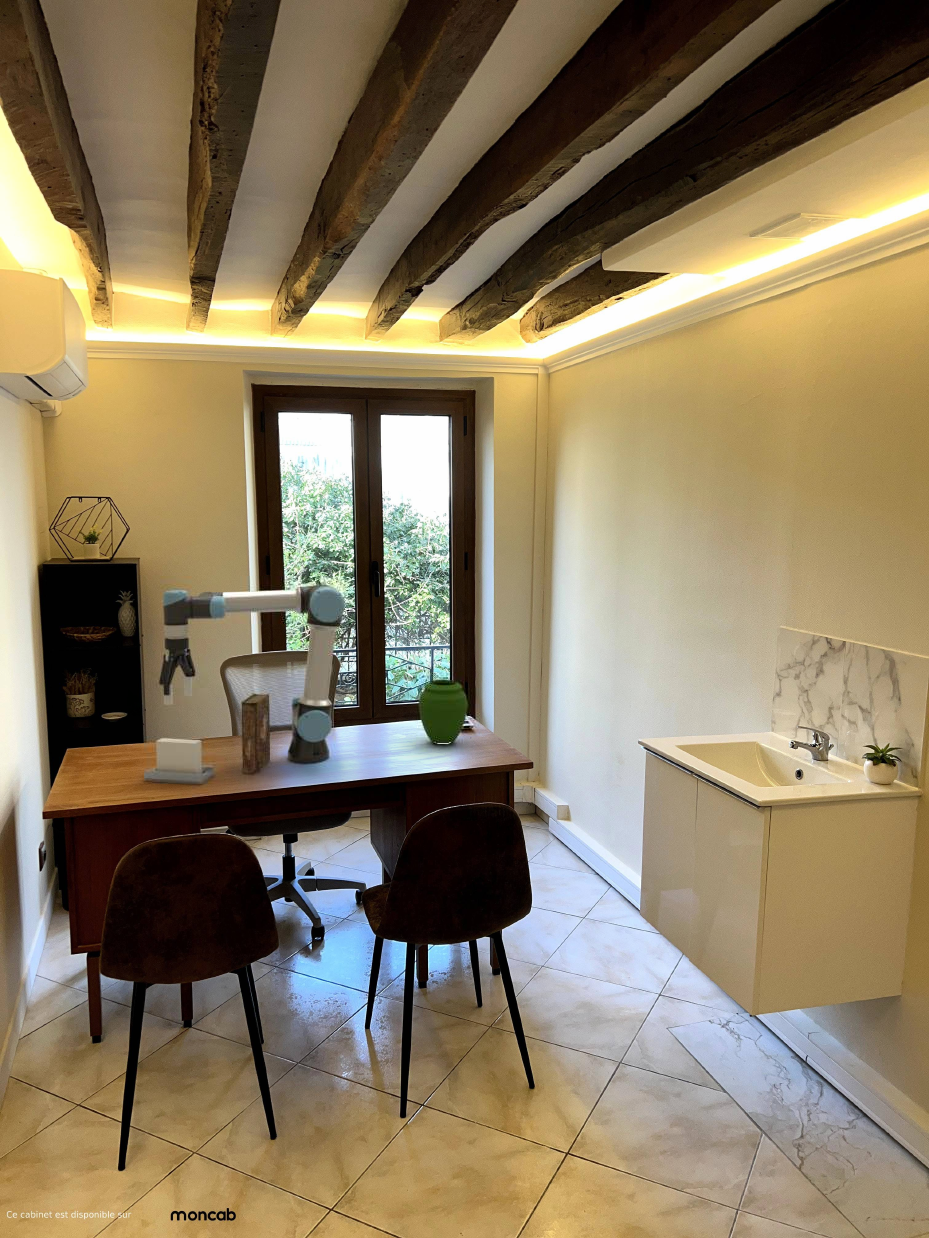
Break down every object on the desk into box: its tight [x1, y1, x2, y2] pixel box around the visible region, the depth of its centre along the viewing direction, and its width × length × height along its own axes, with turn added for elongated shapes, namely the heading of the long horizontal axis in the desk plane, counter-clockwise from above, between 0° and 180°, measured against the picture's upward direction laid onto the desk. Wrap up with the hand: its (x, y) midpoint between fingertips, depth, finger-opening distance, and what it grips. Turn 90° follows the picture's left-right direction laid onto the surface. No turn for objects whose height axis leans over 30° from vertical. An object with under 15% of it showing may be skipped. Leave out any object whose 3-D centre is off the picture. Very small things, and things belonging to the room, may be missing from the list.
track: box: [143, 764, 215, 786], centre depth 275 cm, size 20×10×4 cm, turn 81°
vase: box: [418, 679, 469, 743], centre depth 323 cm, size 20×20×24 cm
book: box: [241, 692, 271, 775], centre depth 287 cm, size 16×6×25 cm, turn 178°
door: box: [155, 737, 203, 773], centre depth 275 cm, size 14×4×12 cm, turn 81°
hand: (178, 700), depth 272 cm, fingers open, 13 cm apart
